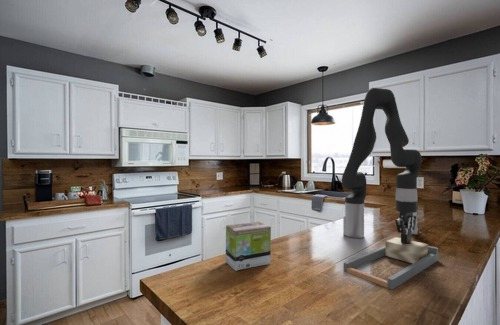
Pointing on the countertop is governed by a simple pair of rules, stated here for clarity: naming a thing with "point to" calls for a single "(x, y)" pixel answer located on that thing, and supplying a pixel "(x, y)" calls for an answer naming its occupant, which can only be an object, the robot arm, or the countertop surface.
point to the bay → (396, 278)
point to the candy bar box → (416, 223)
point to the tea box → (248, 245)
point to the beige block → (406, 249)
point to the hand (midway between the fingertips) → (406, 242)
